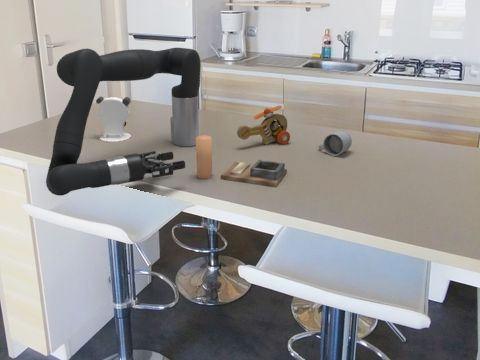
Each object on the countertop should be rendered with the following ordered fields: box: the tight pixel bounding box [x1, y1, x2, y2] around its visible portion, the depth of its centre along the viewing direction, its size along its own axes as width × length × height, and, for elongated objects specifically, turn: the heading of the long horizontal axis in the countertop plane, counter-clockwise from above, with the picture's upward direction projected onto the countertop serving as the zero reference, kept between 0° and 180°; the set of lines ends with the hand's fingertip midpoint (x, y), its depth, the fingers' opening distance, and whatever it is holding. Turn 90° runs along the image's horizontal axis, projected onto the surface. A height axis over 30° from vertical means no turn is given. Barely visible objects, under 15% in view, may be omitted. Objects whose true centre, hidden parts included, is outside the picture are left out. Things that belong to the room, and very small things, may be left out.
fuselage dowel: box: [195, 134, 213, 180], centre depth 144 cm, size 5×5×12 cm
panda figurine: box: [95, 96, 132, 143], centre depth 178 cm, size 12×11×15 cm
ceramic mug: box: [318, 130, 353, 157], centre depth 167 cm, size 11×8×8 cm
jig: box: [220, 159, 288, 188], centre depth 146 cm, size 17×12×4 cm
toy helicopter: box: [236, 105, 291, 145], centre depth 172 cm, size 8×21×14 cm, turn 123°
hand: (178, 159), depth 140 cm, fingers open, 8 cm apart
